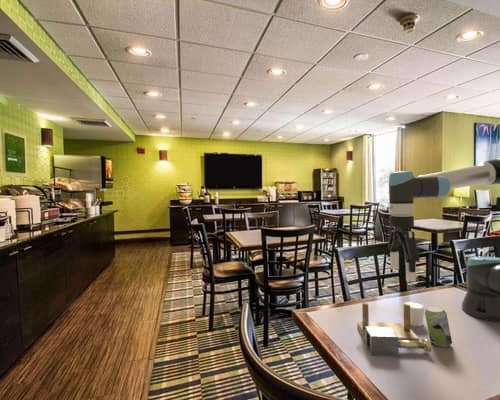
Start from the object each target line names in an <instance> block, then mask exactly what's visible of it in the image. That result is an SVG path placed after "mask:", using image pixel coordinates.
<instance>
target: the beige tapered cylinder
mask: <svg viewBox="0 0 500 400" xmlns="http://www.w3.org/2000/svg"><path fill="white" fill-rule="evenodd" d="M404 304H409V305H410V326H414V327H422V326H423V325H424V316H425V309H426V307H425V305H424V304H423V303H420V302H417V301H412V300H411V301H409V300H407V301H404V302H403V305H404Z"/></svg>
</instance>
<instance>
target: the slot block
mask: <svg viewBox="0 0 500 400" xmlns="http://www.w3.org/2000/svg"><path fill="white" fill-rule="evenodd" d="M365 339H366V341H365V346H366V348H367V350H368V351H369V354H370V355H371V356H377V357H395V358H396V357H400V355H399V352H400V351H399V349H400V348H398V336H397V335H396V333H395V332H394V331H393V330H392V328H391V327H372V326H365Z"/></svg>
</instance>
